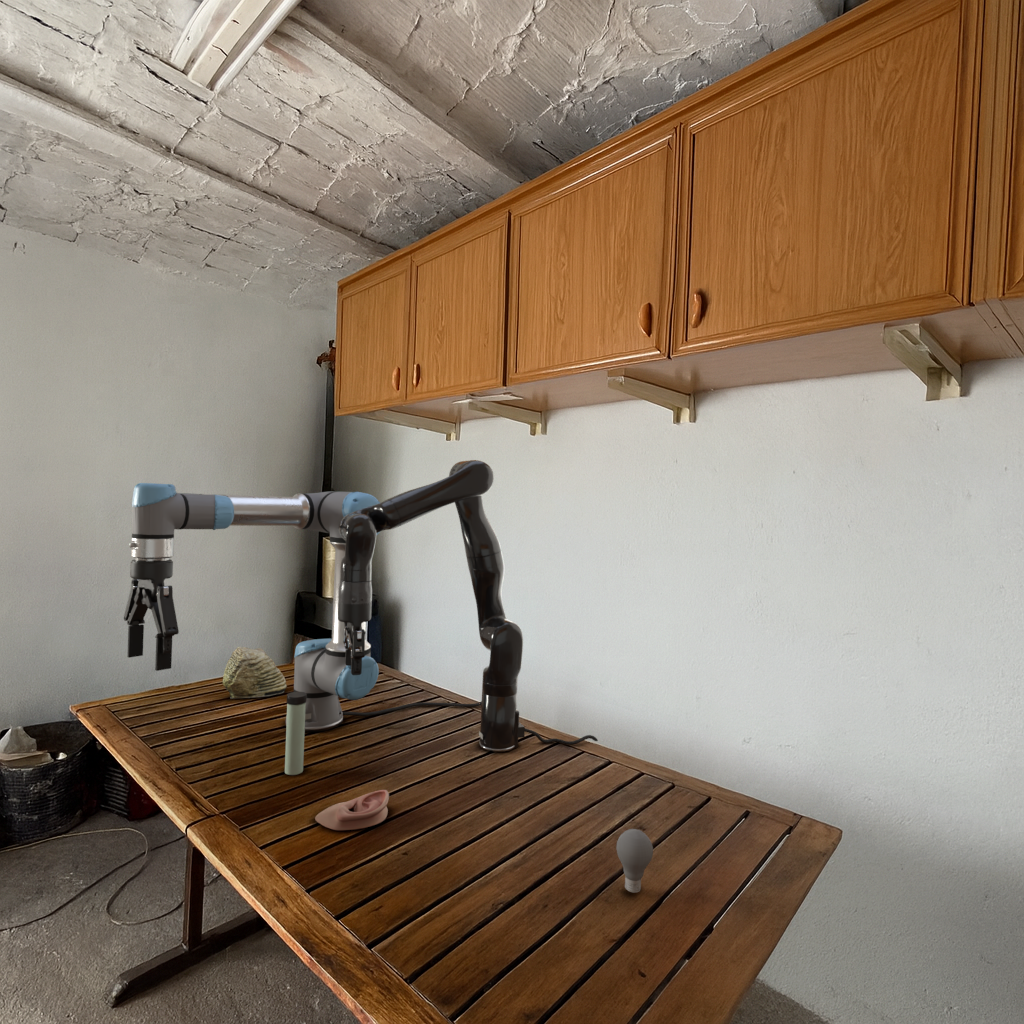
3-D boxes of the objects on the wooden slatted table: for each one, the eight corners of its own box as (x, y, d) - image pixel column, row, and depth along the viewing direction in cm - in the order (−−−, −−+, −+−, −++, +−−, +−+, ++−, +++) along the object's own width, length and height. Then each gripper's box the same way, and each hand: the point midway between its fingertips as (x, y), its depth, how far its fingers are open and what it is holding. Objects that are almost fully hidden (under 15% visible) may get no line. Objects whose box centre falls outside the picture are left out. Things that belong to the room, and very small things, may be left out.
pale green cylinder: (306, 770, 146) (309, 696, 146) (291, 776, 143) (294, 700, 142) (295, 766, 148) (298, 692, 148) (280, 771, 145) (283, 696, 144)
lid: (310, 701, 146) (310, 694, 146) (294, 706, 142) (294, 698, 142) (298, 697, 148) (298, 690, 148) (282, 701, 144) (282, 694, 144)
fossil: (218, 695, 195) (220, 647, 195) (278, 685, 208) (279, 640, 207) (228, 703, 189) (230, 653, 188) (289, 692, 201) (290, 645, 201)
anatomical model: (307, 805, 121) (336, 780, 133) (306, 826, 121) (335, 798, 133) (372, 815, 119) (395, 788, 130) (371, 836, 119) (394, 807, 130)
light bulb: (610, 879, 108) (613, 822, 108) (644, 879, 109) (647, 822, 109) (619, 902, 102) (622, 840, 102) (655, 901, 103) (658, 840, 103)
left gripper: (108, 554, 134) (104, 654, 134) (159, 565, 118) (155, 678, 119) (146, 552, 140) (143, 648, 140) (199, 563, 124) (195, 671, 124)
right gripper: (377, 604, 141) (375, 677, 141) (365, 594, 154) (363, 660, 154) (343, 605, 138) (340, 679, 138) (334, 595, 151) (332, 663, 151)
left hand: (148, 662), depth 129 cm, fingers open, 13 cm apart
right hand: (353, 669), depth 146 cm, fingers open, 8 cm apart
